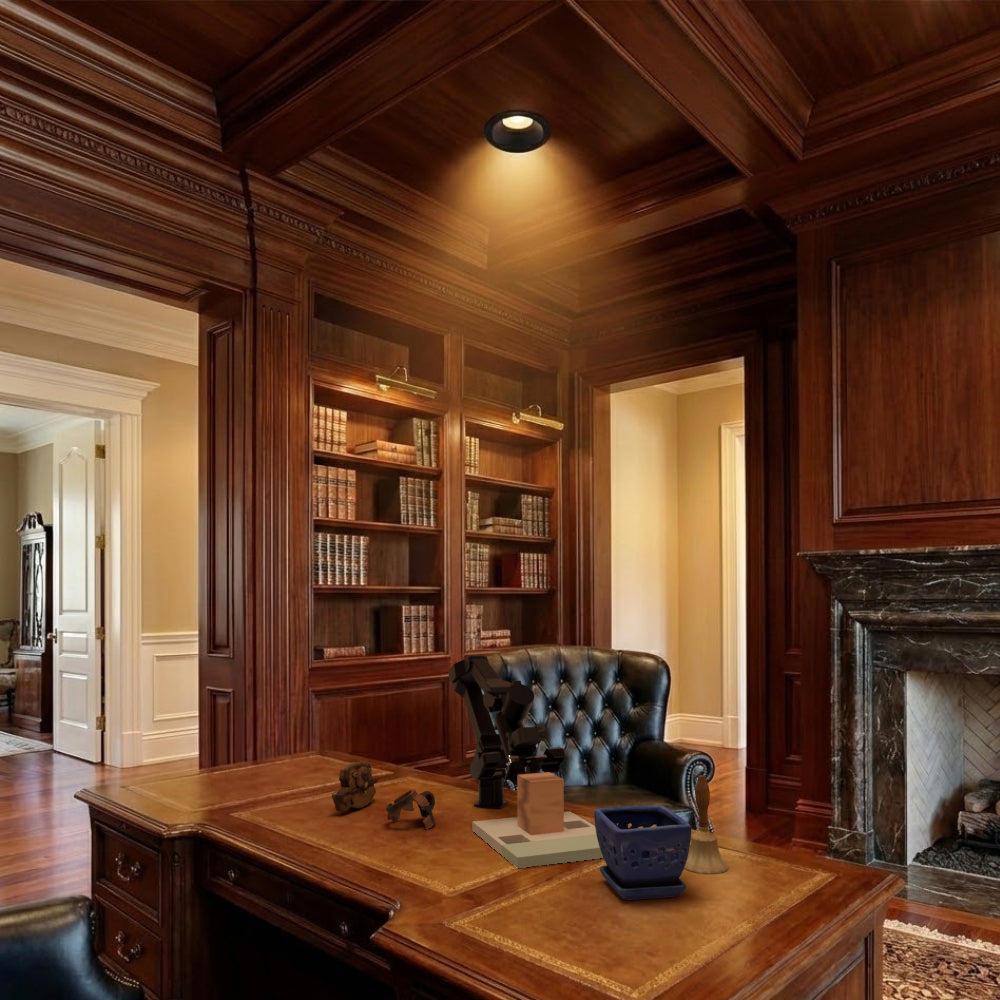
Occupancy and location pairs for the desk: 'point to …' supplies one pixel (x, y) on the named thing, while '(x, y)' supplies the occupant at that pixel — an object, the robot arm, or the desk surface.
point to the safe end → (552, 851)
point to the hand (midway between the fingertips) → (532, 798)
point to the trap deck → (510, 832)
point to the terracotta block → (540, 803)
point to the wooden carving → (354, 787)
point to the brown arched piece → (406, 803)
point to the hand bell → (704, 837)
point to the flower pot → (643, 850)
